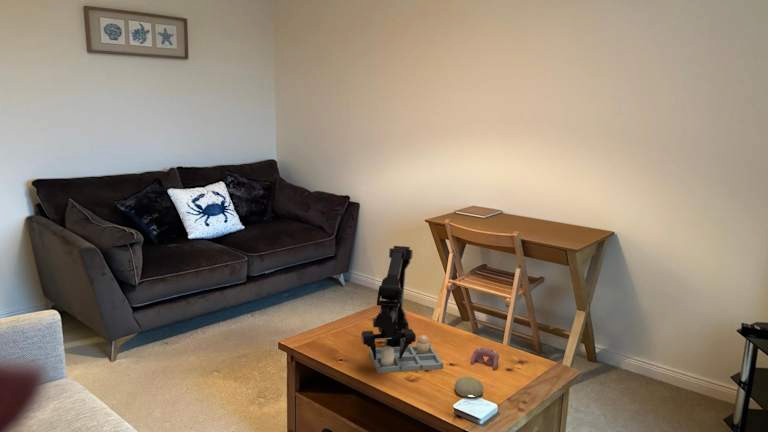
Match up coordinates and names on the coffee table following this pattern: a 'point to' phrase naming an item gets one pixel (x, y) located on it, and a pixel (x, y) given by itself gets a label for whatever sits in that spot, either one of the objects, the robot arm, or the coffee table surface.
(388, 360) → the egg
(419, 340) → the beige rounded cylinder
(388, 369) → the grey compartment tray
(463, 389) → the sea urchin shell
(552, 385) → the coffee table surface
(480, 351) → the video game controller
